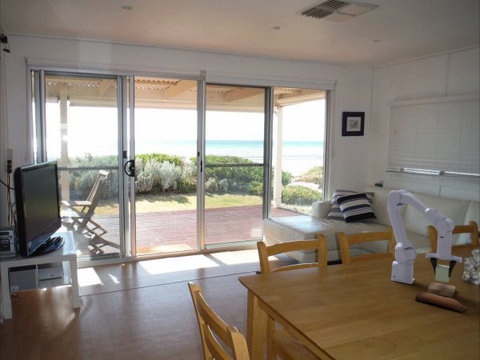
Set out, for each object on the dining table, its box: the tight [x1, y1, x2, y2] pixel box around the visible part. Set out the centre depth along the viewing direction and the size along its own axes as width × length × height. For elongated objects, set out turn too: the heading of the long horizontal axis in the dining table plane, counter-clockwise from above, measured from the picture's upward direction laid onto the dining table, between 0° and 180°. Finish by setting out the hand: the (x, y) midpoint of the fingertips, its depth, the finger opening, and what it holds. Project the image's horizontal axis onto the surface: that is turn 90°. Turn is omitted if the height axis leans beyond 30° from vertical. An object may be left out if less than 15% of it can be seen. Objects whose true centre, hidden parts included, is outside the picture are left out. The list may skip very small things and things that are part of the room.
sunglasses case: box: [414, 292, 466, 313], centre depth 171 cm, size 18×7×7 cm
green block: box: [434, 263, 450, 283], centre depth 185 cm, size 5×5×6 cm
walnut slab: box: [427, 281, 456, 298], centre depth 186 cm, size 10×10×2 cm
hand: (442, 275), depth 185 cm, fingers closed on green block, 5 cm apart
